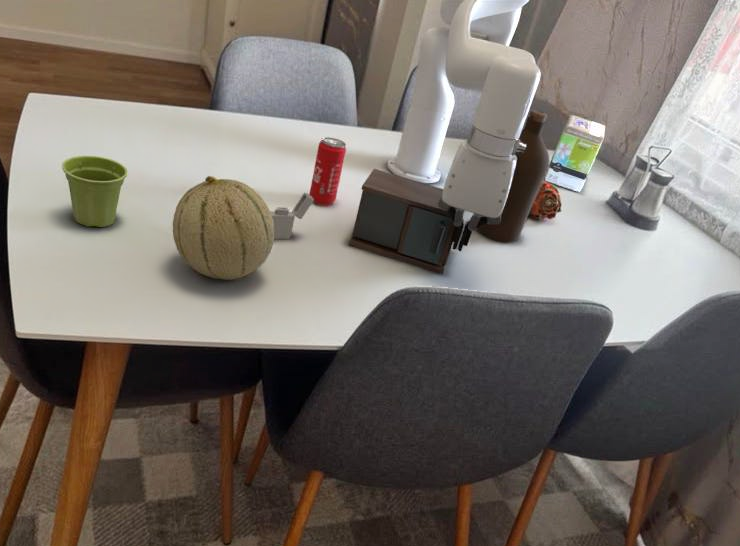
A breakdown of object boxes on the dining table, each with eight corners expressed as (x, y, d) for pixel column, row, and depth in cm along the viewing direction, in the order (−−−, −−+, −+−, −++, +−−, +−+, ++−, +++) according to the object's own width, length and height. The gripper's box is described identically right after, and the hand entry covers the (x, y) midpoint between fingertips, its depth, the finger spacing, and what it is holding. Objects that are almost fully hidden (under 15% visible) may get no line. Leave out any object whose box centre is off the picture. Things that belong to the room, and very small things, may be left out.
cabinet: (360, 225, 134) (374, 168, 128) (449, 252, 133) (467, 196, 127) (348, 245, 126) (362, 185, 120) (442, 274, 125) (461, 215, 119)
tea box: (581, 193, 180) (604, 137, 172) (543, 181, 182) (565, 124, 173) (584, 177, 193) (606, 124, 184) (548, 165, 194) (569, 112, 186)
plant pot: (138, 221, 116) (140, 171, 111) (97, 239, 108) (98, 186, 103) (92, 201, 118) (92, 151, 113) (49, 217, 110) (47, 164, 106)
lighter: (268, 238, 121) (275, 195, 117) (265, 234, 122) (272, 190, 118) (306, 238, 124) (314, 196, 120) (303, 234, 126) (311, 192, 121)
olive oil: (525, 248, 143) (572, 127, 129) (475, 237, 142) (517, 114, 128) (516, 226, 152) (559, 110, 138) (469, 216, 150) (507, 98, 137)
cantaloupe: (274, 299, 106) (291, 207, 97) (173, 296, 100) (181, 198, 92) (257, 251, 117) (271, 165, 108) (165, 245, 111) (172, 154, 103)
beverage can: (331, 209, 137) (343, 149, 130) (305, 201, 137) (316, 141, 131) (337, 200, 141) (349, 142, 135) (312, 193, 142) (323, 134, 135)
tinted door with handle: (397, 251, 126) (410, 204, 121) (441, 264, 125) (456, 218, 120) (393, 259, 123) (406, 212, 118) (439, 273, 122) (454, 226, 117)
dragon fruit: (547, 235, 156) (513, 217, 165) (576, 212, 157) (540, 196, 166) (538, 204, 150) (503, 188, 159) (568, 181, 152) (532, 166, 160)
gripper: (538, 149, 112) (501, 251, 122) (448, 122, 113) (418, 226, 123) (538, 162, 106) (498, 269, 116) (442, 134, 107) (411, 242, 117)
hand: (457, 247), depth 120 cm, fingers closed
